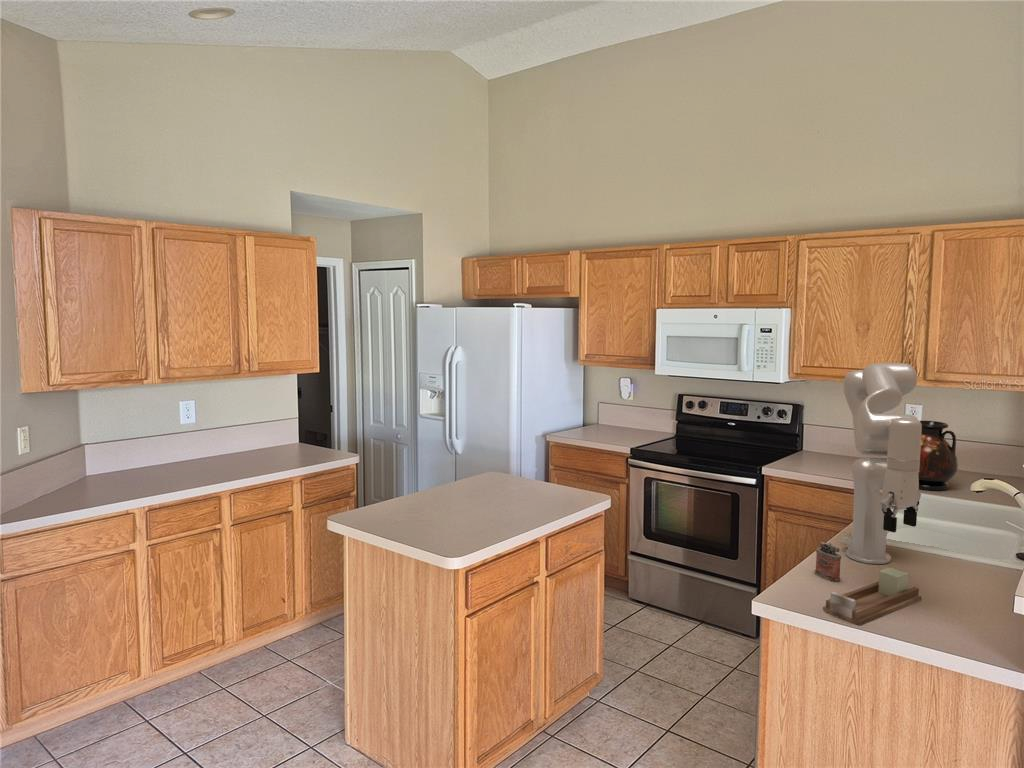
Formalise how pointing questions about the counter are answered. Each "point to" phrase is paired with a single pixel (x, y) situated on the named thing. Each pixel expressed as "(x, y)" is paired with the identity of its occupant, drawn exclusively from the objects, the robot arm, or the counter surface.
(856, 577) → the counter surface
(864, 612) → the chute
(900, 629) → the counter surface
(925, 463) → the amphora vase
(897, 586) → the block
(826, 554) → the lighter
